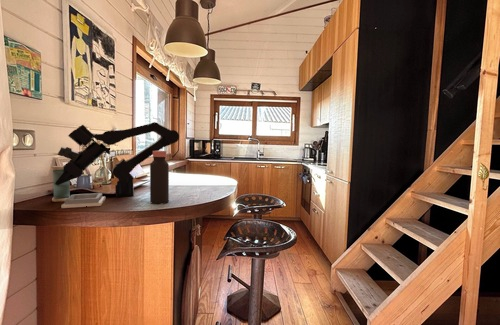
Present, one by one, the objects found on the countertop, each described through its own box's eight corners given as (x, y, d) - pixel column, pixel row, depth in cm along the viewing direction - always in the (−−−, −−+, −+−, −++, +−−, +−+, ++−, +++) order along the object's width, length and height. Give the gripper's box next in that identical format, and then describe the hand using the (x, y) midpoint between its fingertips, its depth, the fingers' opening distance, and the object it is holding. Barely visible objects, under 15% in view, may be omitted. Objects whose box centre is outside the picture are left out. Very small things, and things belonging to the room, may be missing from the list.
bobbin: (73, 197, 103) (72, 165, 102) (69, 201, 98) (68, 167, 97) (55, 198, 101) (54, 165, 100) (50, 202, 95) (48, 167, 94)
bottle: (149, 204, 96) (149, 151, 94) (151, 200, 102) (151, 150, 101) (168, 203, 97) (168, 151, 96) (168, 199, 104) (169, 150, 102)
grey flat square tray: (105, 198, 103) (105, 192, 103) (100, 205, 92) (100, 198, 92) (70, 200, 98) (70, 194, 98) (61, 208, 88) (61, 200, 88)
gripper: (74, 139, 107) (42, 166, 103) (70, 140, 91) (31, 171, 87) (96, 158, 112) (66, 184, 107) (96, 161, 96) (61, 192, 91)
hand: (57, 183), depth 98 cm, fingers closed on bobbin, 5 cm apart
